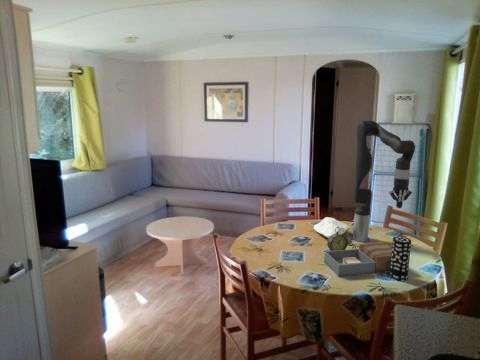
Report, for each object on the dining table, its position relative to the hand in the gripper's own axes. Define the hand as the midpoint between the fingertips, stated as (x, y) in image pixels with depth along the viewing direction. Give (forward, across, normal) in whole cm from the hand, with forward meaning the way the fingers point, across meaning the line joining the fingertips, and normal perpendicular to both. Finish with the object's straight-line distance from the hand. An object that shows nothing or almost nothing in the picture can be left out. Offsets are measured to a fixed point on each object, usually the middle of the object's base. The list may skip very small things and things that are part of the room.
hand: (398, 207), depth 200 cm
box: (+29, +32, +8) cm, 44 cm away
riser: (+29, +15, +8) cm, 33 cm away
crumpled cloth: (+29, +20, -40) cm, 53 cm away
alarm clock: (+29, +31, -10) cm, 43 cm away
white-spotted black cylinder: (+29, +13, +23) cm, 39 cm away
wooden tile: (+25, +30, +8) cm, 40 cm away
